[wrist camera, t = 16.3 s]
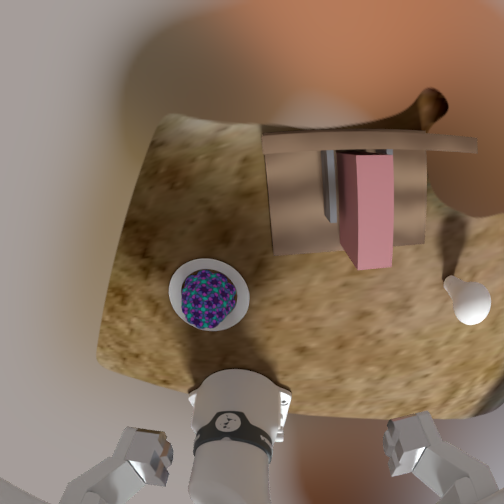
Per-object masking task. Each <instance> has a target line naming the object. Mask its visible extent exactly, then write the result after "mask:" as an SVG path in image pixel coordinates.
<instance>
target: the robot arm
mask: <svg viewBox="0 0 504 504" xmlns="http://www.w3.org/2000/svg"><path fill="white" fill-rule="evenodd" d="M291 396H292V394H291V392H290V391H288V390H286V389H283V388H280V387H278V386H276V385H275V384H274V383H273V382H272V381H270V380H269V379H268V378H266V377H265V376H263V375H261V374H259V373H256V372H253V371H249V370H242V369H229V370H223V371H219V372H216V373H214V374H212V375H210V376H209V377H207V378H206V379H205V380H204V381H203V383H202V384H201V386H200V387H199V388H198V389H196V390H194V391H192V392H191V393H190V394H189V398H188V399H189V401H190V403H191V405H192V406H193V414H192V420H191V428H192V429H193V431H194V432H195V434H196V438H195V440H194V450H193V453H194V456H195V458H194V462H193V467H192V472H191V476H190V481H189V485H188V492H189V495H190V498H191V500H192V501H193V502H194V504H272V503H271V499H270V490H269V468H268V467H269V464H270V462H271V458H272V453H273V449H272V447H273V445H274V442H282V441H283V437H284V431H283V427H284V423H285V420H286V416H287V413H288V409H289V405H290V402H291ZM283 400H285V401H283ZM387 427H388V430H387V431H386V432H385V433H384V437H383V447H384V451H385V454H386V455H387V456H389V457H390V460H389V462H388V466H389V469H390V473H391V476H397V475H401V474H406V473H409V472H412V473H413V474H414V475H415V476H416V477H418V478H419V479H420V480H421V481H422V482H423V483H425V484H426V485H427V486H428V487H429V488H431V489H432V490H433V491H434V492H435V493H436V494H438V495H439V496H440V497H441V499H440V500H439V501H438V502H437V503H436V504H504V488H503V489H501V490H499V489H498V486H497V484H496V482H495V479H494V477H493V475H492V473H491V471H490V468H489V466H488V465H486V464H484V463H483V462H481V461H479V460H478V459H476V458H474V457H472V456H471V455H469V454H467V453H465V452H464V451H462V450H461V449H459V448H457V447H456V446H454V445H452V444H451V443H449V442H447V441H444V442H443V441H442V439H441V436H440V434H439V432H438V430H437V428H436V426H435V423H434V421H433V419H432V417H431V415H430V413H429V412H428V411H423V412H419V413H416V414H410V415H406V416H402V417H398V418H394V419H390V420H389V421H388V424H387ZM166 439H167V436H166V434H165V432H163V431H155V430H147V429H140V428H134V427H126V428H125V429H124V431H123V433H122V436H121V438H120V440H119V442H118V444H117V447H116V449H115V451H114V454H113V456H112V457H108V458H107V459H105V460H104V461H102V462H100V463H99V464H98V465H96V466H94V467H93V468H91V469H90V470H88V471H87V472H85V473H84V474H82V475H81V476H79V477H77V478H76V479H74V480H73V481H71V482H70V483H68V485H67V487H66V489H65V491H64V493H63V496H62V498H61V500H60V502H59V504H125V503H126V502H127V501H129V500H130V499H131V498H132V497H133V496H134V495H135V494H136V493H137V492H138V491H140V490H141V489H142V488H143V487H144V486H145V484H151V485H157V486H166V483H167V480H168V476H169V472H168V470H167V468H168V467H169V466H170V465H171V464H172V461H173V448H172V445H171V443H169V442H168V441H166ZM0 504H50V503H48V502H45V501H43V500H41V499H39V498H37V497H35V496H33V495H31V494H29V493H28V492H26V491H24V490H22V489H20V488H18V487H17V486H15V485H13V484H11V483H10V482H8V481H6V480H4V479H3V478H1V477H0Z"/></svg>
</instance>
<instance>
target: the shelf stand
mask: <svg viewBox="0 0 504 504" xmlns="http://www.w3.org/2000/svg"><path fill="white" fill-rule="evenodd" d="M261 138H262V148H263V154H265V162H266V172H267V183H268V194H269V205H270V216H271V228H272V240H273V252H274V256H279V255H292V254H305V253H317V252H330V251H342V250H344V249H343V247H342V246H341V244H340V218H339V191H338V171H337V156H336V153H337V152H372V153H380V154H388V155H393V170H394V228H393V246H403V245H415V244H424V242H425V227H426V205H427V158H426V150H436V151H452V152H467V153H477V138H472V137H462V136H453V135H440V134H428V133H425V131H418V130H398V129H321V130H300V131H284V132H271V133H263V136H261Z"/></svg>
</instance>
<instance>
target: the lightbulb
mask: <svg viewBox="0 0 504 504" xmlns="http://www.w3.org/2000/svg"><path fill="white" fill-rule="evenodd" d="M444 288H445V289H446V290H447V291H448V294H449V295H450V297H451V298H452V300H453V309H454V313H455V315H456V317H457V318H458V319H459V320H460V321H461V322H463V323H464V324H468V325H474V324H477V323H480V322H481V321H482V320H484V319H485V317H486V316H487V315H488V313H489V310H490V307H491V297H490V294H489V292H488V290H487V289H486V287H485V286H484V285H482V284H480V283H477V282H464V281H462V280H461V279H458V278H456V277H455V276H453V275H450V276H448V277H447V278H446V279H445V281H444Z"/></svg>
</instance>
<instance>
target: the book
mask: <svg viewBox="0 0 504 504" xmlns="http://www.w3.org/2000/svg"><path fill="white" fill-rule="evenodd" d="M336 156H337V171H338V191H339V218H340V244H341V246H342V247H343V249H344V250H345V252H346V253H347V255H348V256H349V258H350V259H351V261H352V262H353V264H354V265H355V267H356V268H357V270H365V269H375V268H385V267H392V251H393V228H394V170H393V155H388V154H380V153H372V152H337V153H336Z"/></svg>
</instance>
